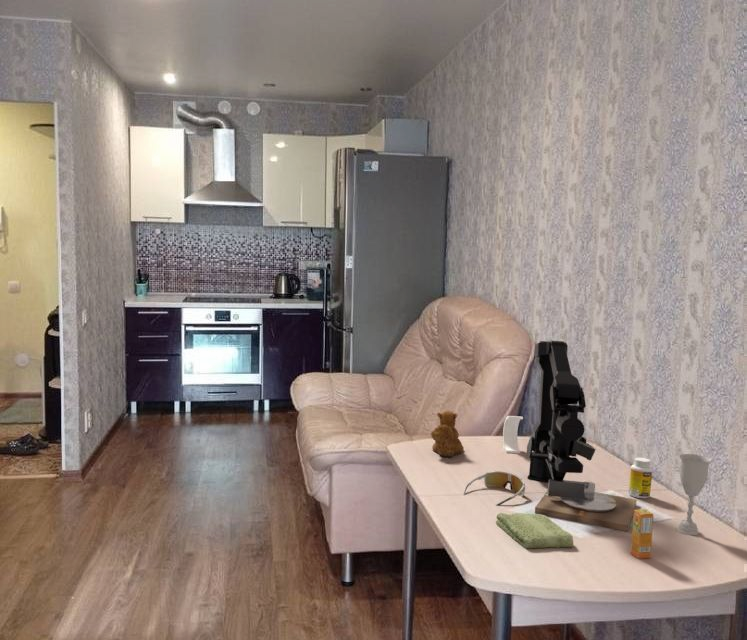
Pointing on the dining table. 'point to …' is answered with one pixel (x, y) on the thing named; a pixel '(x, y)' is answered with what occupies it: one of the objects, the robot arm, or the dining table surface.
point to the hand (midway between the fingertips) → (557, 488)
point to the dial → (580, 495)
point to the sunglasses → (502, 482)
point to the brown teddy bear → (447, 435)
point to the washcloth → (534, 530)
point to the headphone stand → (511, 434)
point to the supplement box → (642, 534)
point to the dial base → (610, 519)
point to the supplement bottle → (640, 478)
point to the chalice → (692, 486)
